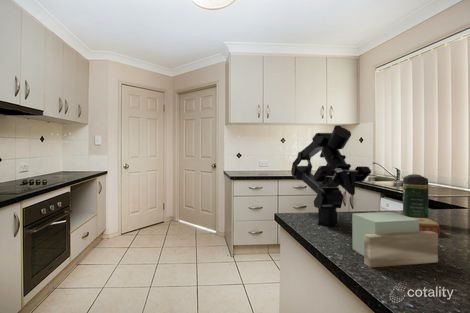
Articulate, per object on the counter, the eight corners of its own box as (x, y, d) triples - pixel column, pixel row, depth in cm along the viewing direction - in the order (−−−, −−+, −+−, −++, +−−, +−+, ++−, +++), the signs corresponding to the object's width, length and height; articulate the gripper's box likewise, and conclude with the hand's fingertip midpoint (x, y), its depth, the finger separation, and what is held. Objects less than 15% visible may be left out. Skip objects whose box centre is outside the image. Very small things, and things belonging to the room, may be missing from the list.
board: (364, 263, 59) (364, 234, 59) (430, 258, 62) (430, 230, 62) (370, 267, 57) (370, 237, 57) (437, 262, 60) (437, 233, 60)
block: (352, 249, 69) (352, 213, 69) (391, 246, 70) (391, 211, 70) (375, 263, 60) (375, 222, 60) (419, 260, 61) (419, 219, 61)
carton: (440, 237, 79) (440, 224, 79) (383, 233, 84) (383, 220, 84) (428, 229, 87) (428, 217, 87) (377, 226, 92) (377, 214, 92)
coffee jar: (430, 227, 88) (429, 175, 88) (403, 224, 93) (403, 174, 93) (426, 221, 97) (426, 174, 96) (402, 218, 101) (402, 173, 101)
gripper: (346, 172, 97) (364, 207, 86) (302, 172, 93) (316, 208, 83) (361, 153, 89) (383, 188, 78) (313, 151, 85) (331, 188, 75)
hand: (353, 194), depth 79 cm, fingers closed
